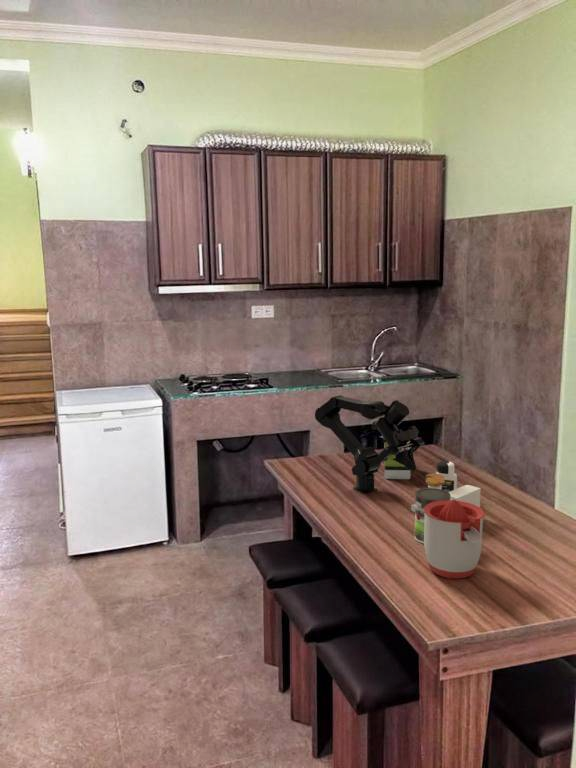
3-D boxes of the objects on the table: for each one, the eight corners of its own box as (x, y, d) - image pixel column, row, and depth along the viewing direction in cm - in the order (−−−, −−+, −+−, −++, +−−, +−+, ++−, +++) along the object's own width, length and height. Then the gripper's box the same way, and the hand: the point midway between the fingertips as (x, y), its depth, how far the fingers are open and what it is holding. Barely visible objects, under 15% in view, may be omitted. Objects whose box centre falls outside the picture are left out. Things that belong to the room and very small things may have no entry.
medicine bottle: (432, 497, 236) (433, 464, 234) (436, 490, 243) (437, 458, 241) (453, 499, 234) (454, 466, 232) (456, 492, 240) (457, 460, 238)
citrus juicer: (449, 591, 170) (452, 516, 166) (411, 563, 186) (412, 494, 182) (498, 578, 176) (502, 506, 172) (457, 553, 192) (459, 486, 188)
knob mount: (407, 512, 223) (407, 483, 221) (431, 502, 231) (431, 474, 229) (456, 528, 209) (456, 498, 207) (479, 517, 217) (480, 488, 215)
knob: (421, 505, 222) (421, 476, 220) (432, 500, 226) (433, 472, 224) (436, 510, 218) (437, 480, 216) (447, 505, 222) (448, 476, 220)
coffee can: (427, 548, 195) (428, 502, 193) (407, 535, 205) (408, 491, 202) (456, 541, 199) (457, 496, 197) (435, 529, 209) (436, 485, 206)
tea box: (384, 467, 271) (384, 431, 268) (409, 467, 270) (409, 432, 267) (384, 479, 256) (384, 441, 254) (410, 480, 255) (411, 442, 252)
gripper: (385, 424, 221) (411, 463, 215) (420, 414, 233) (446, 451, 227) (367, 442, 228) (392, 481, 222) (402, 432, 240) (426, 469, 234)
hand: (415, 470), depth 226 cm, fingers closed
